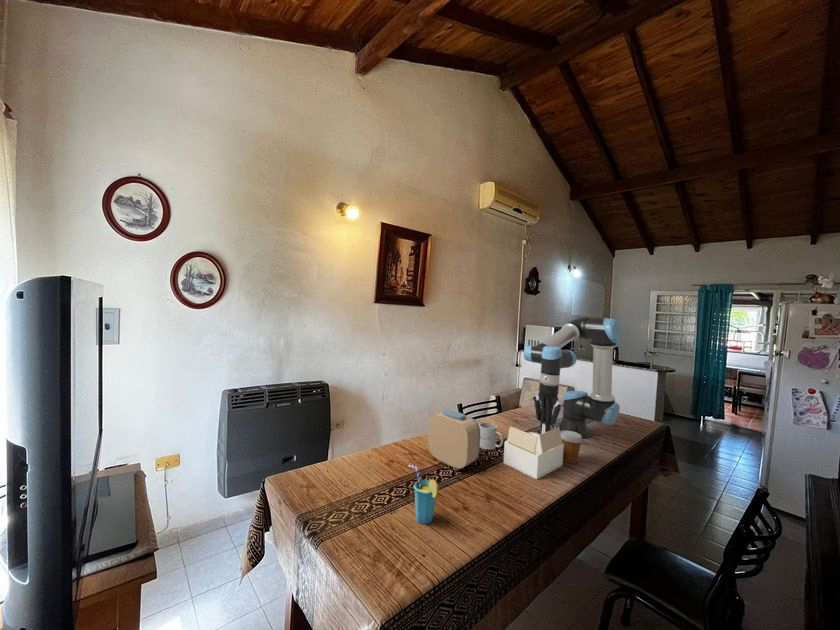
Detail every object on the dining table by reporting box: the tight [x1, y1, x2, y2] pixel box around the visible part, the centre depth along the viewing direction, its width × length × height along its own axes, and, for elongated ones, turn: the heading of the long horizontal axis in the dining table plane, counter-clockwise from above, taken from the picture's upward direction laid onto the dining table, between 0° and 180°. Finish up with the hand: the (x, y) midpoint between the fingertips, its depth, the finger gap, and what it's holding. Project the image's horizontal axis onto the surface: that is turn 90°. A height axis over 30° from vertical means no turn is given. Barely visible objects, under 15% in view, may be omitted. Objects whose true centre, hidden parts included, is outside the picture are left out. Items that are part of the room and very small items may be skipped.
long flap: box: [539, 426, 562, 453], centre depth 138 cm, size 15×7×1 cm
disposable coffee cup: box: [560, 431, 583, 465], centre depth 150 cm, size 10×10×12 cm
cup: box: [407, 464, 439, 525], centre depth 105 cm, size 14×8×15 cm, turn 46°
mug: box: [478, 421, 504, 451], centre depth 160 cm, size 12×9×10 cm
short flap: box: [506, 425, 538, 453], centre depth 138 cm, size 6×13×1 cm
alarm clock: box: [427, 409, 481, 471], centre depth 142 cm, size 21×10×22 cm, turn 47°
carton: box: [503, 431, 564, 481], centre depth 144 cm, size 21×17×10 cm
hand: (544, 438), depth 140 cm, fingers closed
